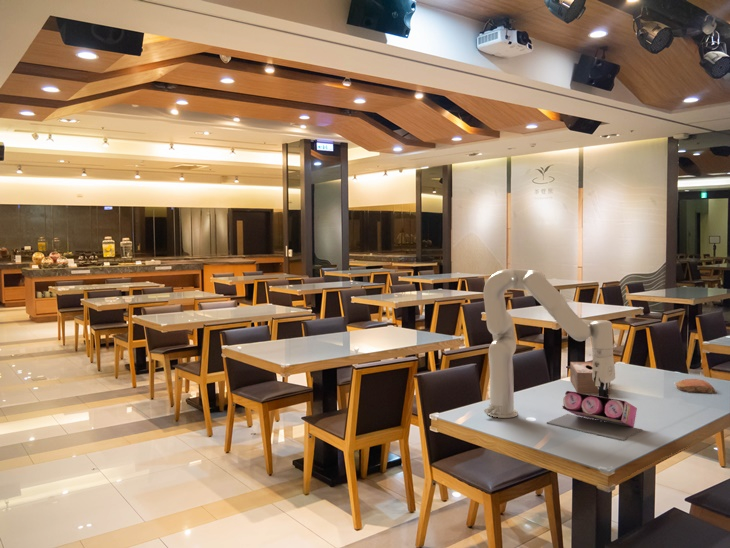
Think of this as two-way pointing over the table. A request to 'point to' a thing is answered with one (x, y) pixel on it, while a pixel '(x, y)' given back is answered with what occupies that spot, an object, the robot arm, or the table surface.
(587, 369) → the tissue box cover
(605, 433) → the mat
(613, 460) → the table surface
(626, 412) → the gum box
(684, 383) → the ceramic shard
